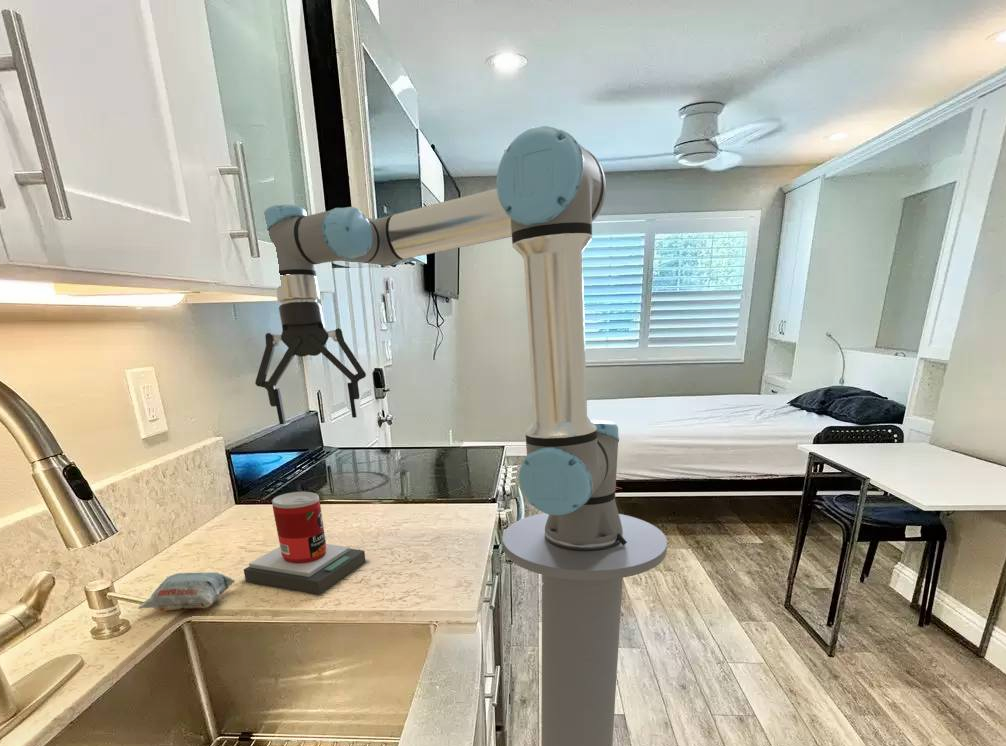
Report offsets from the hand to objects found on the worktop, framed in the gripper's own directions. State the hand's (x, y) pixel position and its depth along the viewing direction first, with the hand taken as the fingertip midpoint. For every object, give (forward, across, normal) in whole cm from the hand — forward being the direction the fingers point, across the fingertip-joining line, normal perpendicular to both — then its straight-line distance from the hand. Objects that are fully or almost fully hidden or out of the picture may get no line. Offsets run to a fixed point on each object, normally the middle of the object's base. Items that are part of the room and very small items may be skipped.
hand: (319, 420), depth 111 cm
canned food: (+23, +5, +14) cm, 27 cm away
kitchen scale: (+26, +5, +14) cm, 30 cm away
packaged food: (+26, +23, +23) cm, 41 cm away
